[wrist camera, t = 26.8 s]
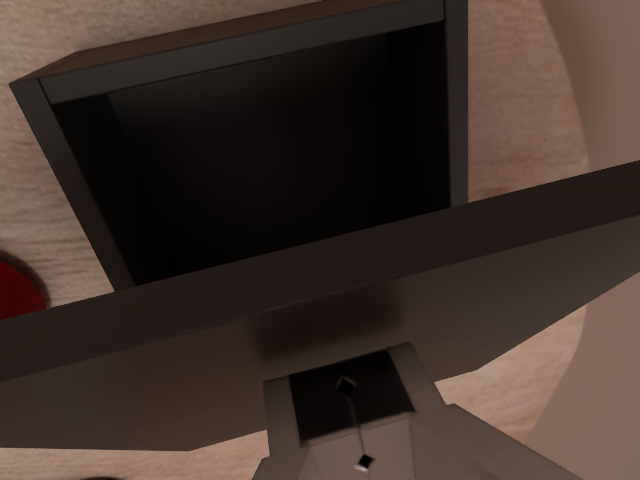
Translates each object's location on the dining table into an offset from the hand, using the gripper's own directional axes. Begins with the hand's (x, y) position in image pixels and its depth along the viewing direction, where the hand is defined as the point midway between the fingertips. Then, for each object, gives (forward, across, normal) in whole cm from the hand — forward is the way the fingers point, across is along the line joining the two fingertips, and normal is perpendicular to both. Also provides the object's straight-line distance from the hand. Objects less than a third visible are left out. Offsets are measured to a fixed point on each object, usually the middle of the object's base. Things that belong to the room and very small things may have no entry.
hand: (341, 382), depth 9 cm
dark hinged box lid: (+3, 0, +3) cm, 4 cm away
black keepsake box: (+15, 0, +2) cm, 15 cm away
